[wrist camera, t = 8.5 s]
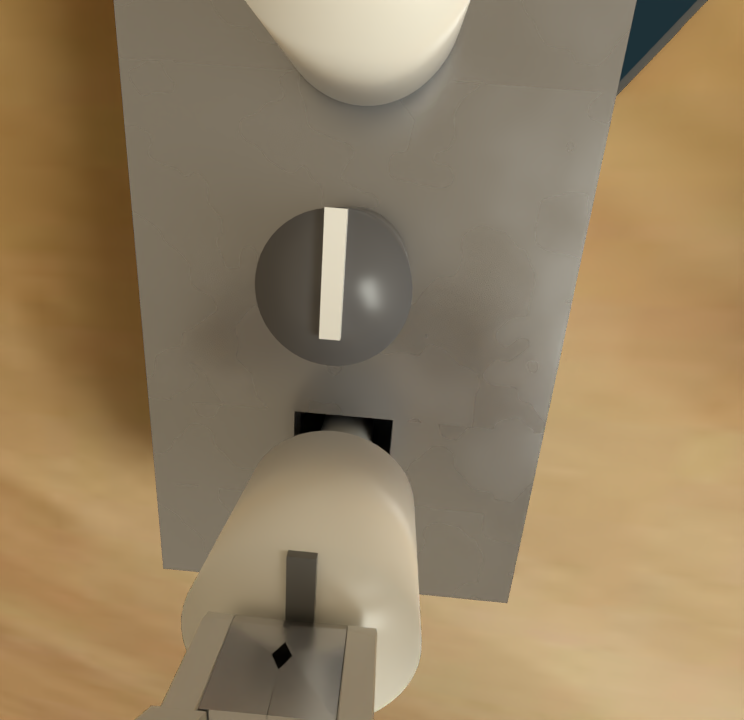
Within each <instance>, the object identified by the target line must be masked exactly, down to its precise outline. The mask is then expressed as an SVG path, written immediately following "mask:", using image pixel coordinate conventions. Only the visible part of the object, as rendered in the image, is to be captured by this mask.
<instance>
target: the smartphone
mask: <svg viewBox="0 0 744 720" xmlns="http://www.w3.org/2000/svg"><path fill="white" fill-rule="evenodd" d="M707 1H708V0H637V1H636V6H635V10H634V15H633V20H632V24H631V29H630V34H629V38H628V43H627V48H626V52H625V57H624V62H623V66H622V71H621V76H620V80H619V85H618V90H617V94H616V96H617V95H618V94H619V93H620V92H621V91H622V90H623V89H624V88H625V87H626V86H627V85H628V83H629V82H630V81H631V80H632V79H633V78H634V77H635V76H636V75H637V74H638V73H639V72H640V71H641V70H642V69H643V68H644V67H645V66H646V65H647V64H648V63H649V62H650V61H651V60H652V59H653V57H654V56H655V55H656V54H657V53H658V52H659V51H660V50H661V49H662V48H663V47H664V46H665V45H666V44H667V43H668V42H669V41H670V40H671V39H672V38H673V37H674V36H675V35H676V34H677V33H678V31H679V30H680V29H681V28H682V27H683V26H684V24H685V23H686V22H687V21H688V20H689V19H690V18H691V17H692V16H693V15H694V14H695V13H696V12H697V11H698V10H699V9H700V8H701V7H702V6H703V5H704V4H705V3H706V2H707Z"/></svg>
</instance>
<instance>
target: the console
mask: <svg viewBox="0 0 744 720" xmlns="http://www.w3.org/2000/svg"><path fill="white" fill-rule="evenodd" d="M636 1H637V0H470V3H469V6H468V9H467V12H466V14H465V17H464V20H463V23H462V26H461V29H460V31H459V34H458V36H457V39H456V41H455V44H454V46H453V48H452V50H451V51H450V53H449V55H448V57H447V59H446V60H445V61H444V63H443V64H442V66H441V67H440V68H439V70H438V71H437V72H436V73H435V74H434V75H433V76H432V77H431V78H430V80H428V81H427V82H426V83H425V84H424V85H423V86H421V87H420V88H419V89H417V90H416V91H414V92H413V93H411V94H410V95H408V96H406V97H404V98H401V99H399V100H397V101H394V102H391V103H387V104H383V105H376V106H358V105H351V104H347V103H344V102H340V101H337V100H335V99H333V98H331V97H329V96H326V95H325V94H323V93H322V92H320V91H319V90H317V89H316V88H315V87H313V86H312V85H311V84H310V83H309V82H307V81H306V80H305V79H304V77H303V76H302V75H301V74H300V73H299V72H298V71H297V70H296V68H295V67H294V65H293V64H292V63H291V61H290V60H289V59H288V57H287V56H286V55H285V53H284V52H283V51H282V49H281V48H280V47H279V45H278V44H277V43H276V41H275V40H274V39H273V37H272V36H271V35H270V33H269V32H268V31H267V29H266V28H265V27H264V25H263V24H262V23H261V21H260V20H259V19H258V17H257V16H256V15H255V13H254V12H253V11H252V9H251V8H250V7H249V5H248V4H247V3H246V1H245V0H114V11H115V23H116V34H117V46H118V57H119V68H120V80H121V91H122V102H123V114H124V125H125V137H126V148H127V159H128V171H129V182H130V194H131V205H132V216H133V228H134V239H135V251H136V262H137V273H138V285H139V296H140V308H141V319H142V330H143V342H144V353H145V365H146V376H147V387H148V399H149V410H150V421H151V433H152V444H153V456H154V467H155V478H156V490H157V501H158V513H159V524H160V535H161V547H162V558H163V569H173V570H183V571H193V572H200V570H201V568H202V566H203V564H204V563H205V561H206V559H207V557H208V555H209V553H210V552H211V550H212V548H213V546H214V544H215V542H216V540H217V539H218V537H219V535H220V533H221V531H222V529H223V528H224V526H225V524H226V522H227V520H228V518H229V516H230V515H231V513H232V511H233V509H234V507H235V505H236V504H237V502H238V500H239V498H240V496H241V494H242V493H243V491H244V489H245V487H246V485H247V483H248V481H249V480H250V478H251V476H252V474H253V472H254V470H255V469H256V467H257V465H258V464H259V462H260V461H261V460H262V458H263V457H264V456H265V455H266V454H267V453H268V452H269V451H270V450H271V449H272V448H274V447H275V446H277V445H278V444H280V443H281V442H283V441H285V440H287V439H289V438H291V437H294V436H297V435H300V434H303V433H308V432H314V431H321V428H322V425H323V422H324V419H325V416H326V414H331V415H342V416H353V417H364V418H373V422H374V429H373V438H372V443H374V444H376V445H378V446H379V447H380V448H382V449H383V450H384V451H386V452H387V453H388V454H389V455H390V456H391V457H392V458H394V459H395V461H396V462H397V463H398V464H399V465H400V467H401V468H402V469H403V471H404V473H405V474H406V476H407V478H408V480H409V483H410V485H411V488H412V492H413V497H414V507H415V526H416V544H417V563H418V581H419V594H422V595H432V596H442V597H452V598H462V599H472V600H481V601H491V602H501V603H507V602H508V598H509V593H510V588H511V584H512V579H513V575H514V570H515V565H516V561H517V556H518V551H519V547H520V542H521V537H522V533H523V528H524V523H525V519H526V514H527V509H528V505H529V500H530V495H531V491H532V486H533V481H534V477H535V472H536V467H537V463H538V458H539V453H540V449H541V444H542V439H543V435H544V430H545V425H546V421H547V416H548V411H549V407H550V402H551V397H552V393H553V388H554V383H555V379H556V374H557V369H558V365H559V360H560V355H561V351H562V346H563V341H564V337H565V332H566V327H567V323H568V318H569V313H570V309H571V304H572V299H573V295H574V290H575V285H576V281H577V276H578V271H579V267H580V262H581V257H582V253H583V248H584V243H585V239H586V234H587V229H588V225H589V220H590V215H591V211H592V206H593V201H594V197H595V192H596V187H597V183H598V178H599V173H600V169H601V164H602V160H603V155H604V150H605V146H606V141H607V136H608V132H609V127H610V122H611V118H612V113H613V108H614V104H615V99H616V94H617V90H618V85H619V80H620V76H621V71H622V66H623V62H624V57H625V52H626V48H627V43H628V38H629V34H630V29H631V24H632V20H633V15H634V10H635V6H636ZM325 207H332V208H334V207H360V208H365V209H369V210H372V211H374V212H376V213H378V214H380V215H381V216H383V217H385V218H386V219H387V220H388V221H389V222H391V224H392V225H393V226H394V227H395V228H396V229H397V231H398V232H399V234H400V235H401V237H402V239H403V241H404V244H405V247H406V251H407V255H408V260H409V266H410V271H411V276H412V286H413V290H412V302H411V308H410V311H409V314H408V318H407V320H406V322H405V324H404V326H403V328H402V330H401V331H400V333H399V334H398V336H397V337H396V338H395V339H394V340H393V342H392V343H391V344H390V345H389V346H387V347H386V348H385V349H384V350H383V351H381V352H380V353H378V354H377V355H375V356H373V357H372V358H370V359H368V360H365V361H362V362H359V363H356V364H351V365H344V366H328V365H321V364H317V363H313V362H310V361H308V360H305V359H303V358H301V357H299V356H297V355H295V354H294V353H292V352H291V351H289V350H288V349H286V348H285V347H284V346H283V345H282V344H281V343H280V342H279V341H278V340H277V339H276V338H275V337H274V336H273V335H272V333H271V332H270V331H269V329H268V327H267V326H266V324H265V323H264V320H263V318H262V316H261V314H260V311H259V308H258V305H257V300H256V295H255V273H256V268H257V263H258V260H259V257H260V254H261V252H262V250H263V248H264V246H265V244H266V243H267V242H268V240H269V239H270V237H271V236H272V235H273V234H274V233H275V231H276V230H277V229H278V228H279V227H281V226H282V225H283V224H284V223H286V222H287V221H288V220H290V219H292V218H293V217H295V216H297V215H299V214H302V213H304V212H307V211H311V210H315V209H321V208H325Z"/></svg>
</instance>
